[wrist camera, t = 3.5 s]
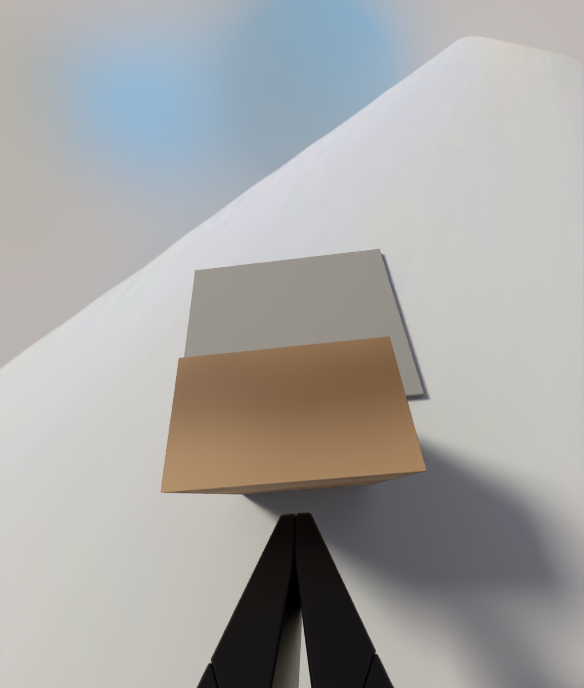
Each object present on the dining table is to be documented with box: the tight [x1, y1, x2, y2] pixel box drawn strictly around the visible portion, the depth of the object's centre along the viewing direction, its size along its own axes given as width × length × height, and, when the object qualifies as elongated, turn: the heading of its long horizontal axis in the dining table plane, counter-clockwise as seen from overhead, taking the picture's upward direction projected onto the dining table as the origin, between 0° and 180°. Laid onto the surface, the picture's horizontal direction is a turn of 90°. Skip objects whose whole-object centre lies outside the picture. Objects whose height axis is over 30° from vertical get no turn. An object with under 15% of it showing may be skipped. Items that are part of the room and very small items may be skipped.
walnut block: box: [161, 336, 426, 494], centre depth 12 cm, size 4×7×9 cm, turn 94°
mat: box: [184, 249, 424, 397], centre depth 20 cm, size 12×15×1 cm
